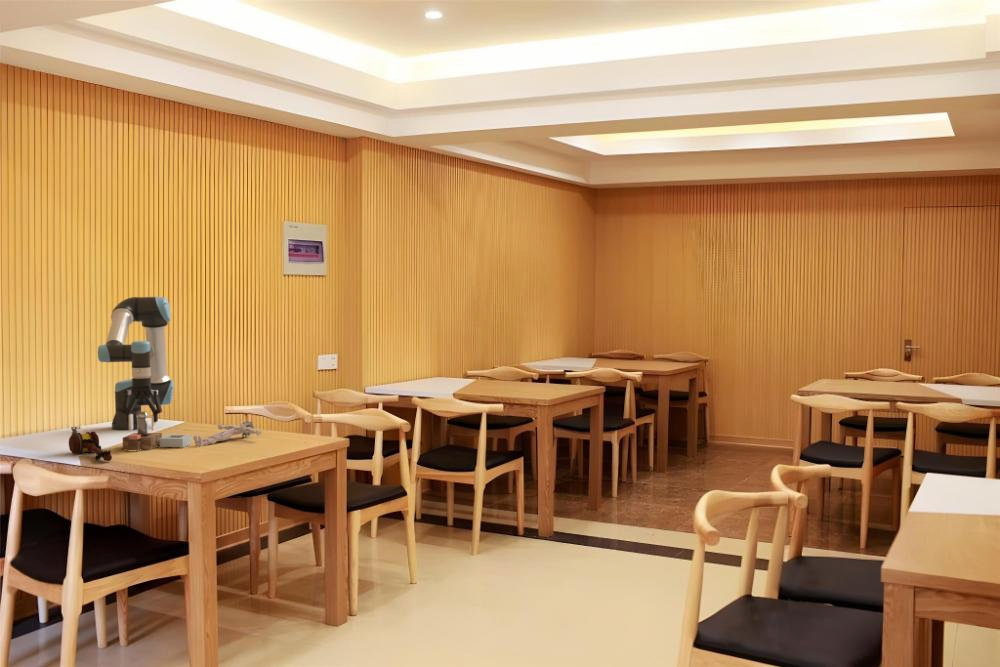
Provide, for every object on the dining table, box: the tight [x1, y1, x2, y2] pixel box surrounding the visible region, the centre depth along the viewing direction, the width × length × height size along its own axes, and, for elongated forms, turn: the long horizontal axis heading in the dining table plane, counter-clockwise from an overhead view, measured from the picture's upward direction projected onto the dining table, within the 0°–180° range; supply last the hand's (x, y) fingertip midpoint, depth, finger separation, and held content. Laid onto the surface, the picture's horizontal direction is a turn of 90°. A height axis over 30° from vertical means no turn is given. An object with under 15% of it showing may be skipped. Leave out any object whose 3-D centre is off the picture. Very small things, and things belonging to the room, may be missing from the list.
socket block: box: [122, 432, 163, 451], centre depth 380 cm, size 16×12×5 cm
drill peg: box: [136, 411, 149, 437], centre depth 382 cm, size 4×4×15 cm
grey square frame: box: [159, 434, 192, 449], centre depth 385 cm, size 10×10×4 cm
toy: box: [192, 420, 262, 447], centre depth 397 cm, size 28×8×30 cm
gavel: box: [68, 426, 113, 462], centre depth 361 cm, size 10×34×10 cm
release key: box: [129, 433, 141, 442], centre depth 374 cm, size 4×4×6 cm
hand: (142, 429), depth 382 cm, fingers open, 9 cm apart
